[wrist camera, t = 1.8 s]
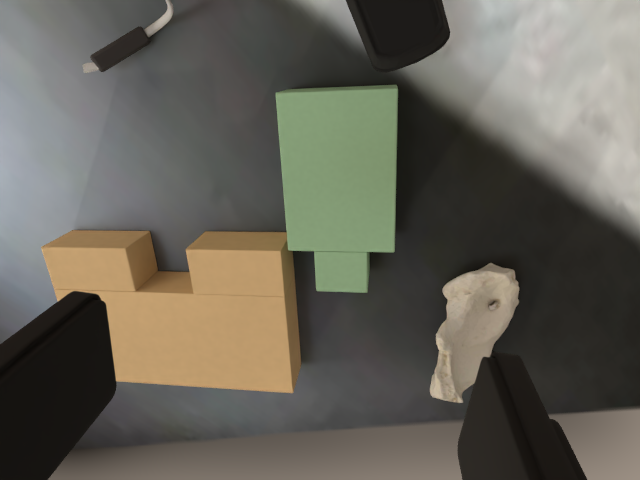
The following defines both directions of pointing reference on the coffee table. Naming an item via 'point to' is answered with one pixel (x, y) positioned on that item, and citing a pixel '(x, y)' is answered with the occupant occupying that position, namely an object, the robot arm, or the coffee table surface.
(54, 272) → the sand pad
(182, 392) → the coffee table surface
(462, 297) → the coral
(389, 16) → the controller
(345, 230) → the green pad
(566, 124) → the coffee table surface
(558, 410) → the coffee table surface
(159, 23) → the clip-on lamp
